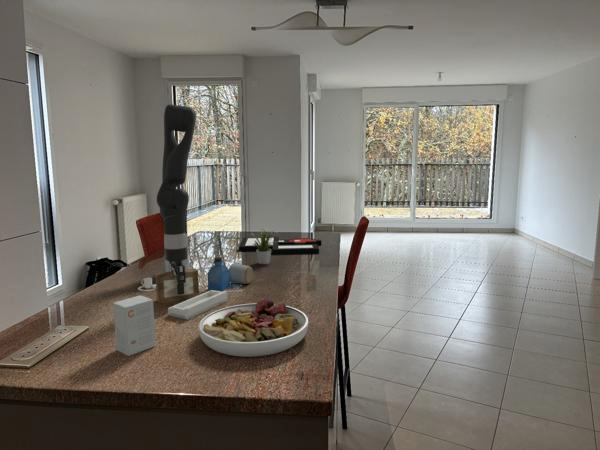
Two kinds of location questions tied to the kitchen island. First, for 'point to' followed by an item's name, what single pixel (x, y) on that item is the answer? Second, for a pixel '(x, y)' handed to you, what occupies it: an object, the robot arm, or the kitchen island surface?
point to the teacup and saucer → (147, 284)
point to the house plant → (263, 248)
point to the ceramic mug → (240, 273)
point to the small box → (134, 325)
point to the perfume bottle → (218, 276)
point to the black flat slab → (283, 245)
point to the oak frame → (168, 286)
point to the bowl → (253, 328)
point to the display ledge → (198, 304)
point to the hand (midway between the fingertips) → (178, 291)
